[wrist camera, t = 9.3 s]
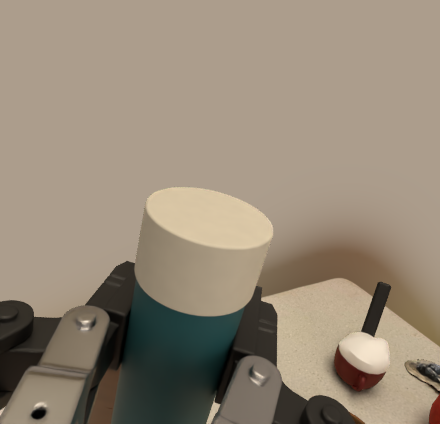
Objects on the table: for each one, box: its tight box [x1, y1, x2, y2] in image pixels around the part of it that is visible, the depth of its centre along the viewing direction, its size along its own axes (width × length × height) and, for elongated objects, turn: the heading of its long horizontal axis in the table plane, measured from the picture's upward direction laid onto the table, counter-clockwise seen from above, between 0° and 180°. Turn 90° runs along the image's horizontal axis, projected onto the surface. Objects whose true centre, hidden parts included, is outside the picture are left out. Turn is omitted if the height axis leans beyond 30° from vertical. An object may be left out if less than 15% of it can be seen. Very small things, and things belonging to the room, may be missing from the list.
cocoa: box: [334, 282, 391, 391], centre depth 46 cm, size 10×6×12 cm, turn 138°
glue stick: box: [111, 187, 273, 424], centre depth 12 cm, size 3×3×11 cm
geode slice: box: [405, 359, 440, 391], centre depth 51 cm, size 7×8×2 cm
